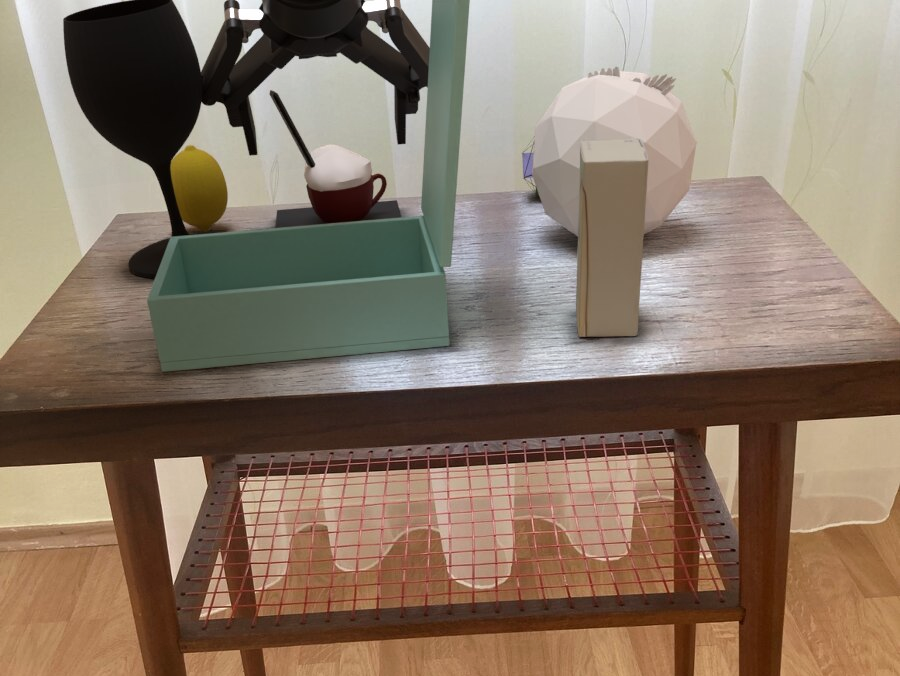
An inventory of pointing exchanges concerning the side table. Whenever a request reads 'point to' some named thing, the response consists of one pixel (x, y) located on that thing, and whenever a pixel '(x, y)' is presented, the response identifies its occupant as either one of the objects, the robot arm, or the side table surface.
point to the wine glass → (138, 91)
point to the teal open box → (298, 294)
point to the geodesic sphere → (613, 117)
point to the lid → (444, 122)
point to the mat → (310, 218)
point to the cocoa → (335, 178)
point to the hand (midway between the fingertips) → (326, 136)
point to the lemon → (198, 187)
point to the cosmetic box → (610, 236)
